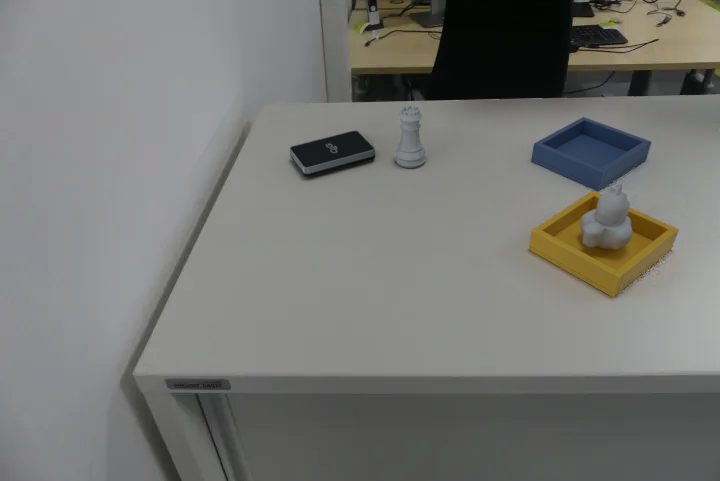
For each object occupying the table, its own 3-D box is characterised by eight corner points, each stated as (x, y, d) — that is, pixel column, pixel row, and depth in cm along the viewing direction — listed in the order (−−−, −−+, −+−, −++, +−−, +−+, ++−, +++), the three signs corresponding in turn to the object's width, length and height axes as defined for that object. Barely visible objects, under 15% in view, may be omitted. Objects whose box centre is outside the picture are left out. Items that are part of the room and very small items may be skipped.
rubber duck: (639, 245, 62) (659, 184, 57) (602, 269, 60) (620, 208, 55) (598, 222, 66) (613, 163, 61) (561, 244, 63) (574, 185, 58)
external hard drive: (377, 161, 81) (376, 149, 80) (305, 181, 78) (303, 169, 76) (357, 141, 86) (356, 129, 85) (289, 159, 83) (287, 147, 81)
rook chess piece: (432, 162, 80) (433, 110, 75) (407, 172, 78) (407, 120, 73) (412, 150, 83) (413, 99, 78) (388, 160, 81) (387, 108, 76)
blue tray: (579, 133, 84) (583, 116, 83) (646, 159, 78) (652, 141, 76) (530, 161, 79) (533, 143, 77) (598, 191, 72) (602, 172, 70)
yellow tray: (587, 209, 69) (592, 190, 67) (671, 249, 62) (679, 229, 61) (528, 249, 64) (531, 229, 62) (613, 297, 57) (619, 277, 55)
